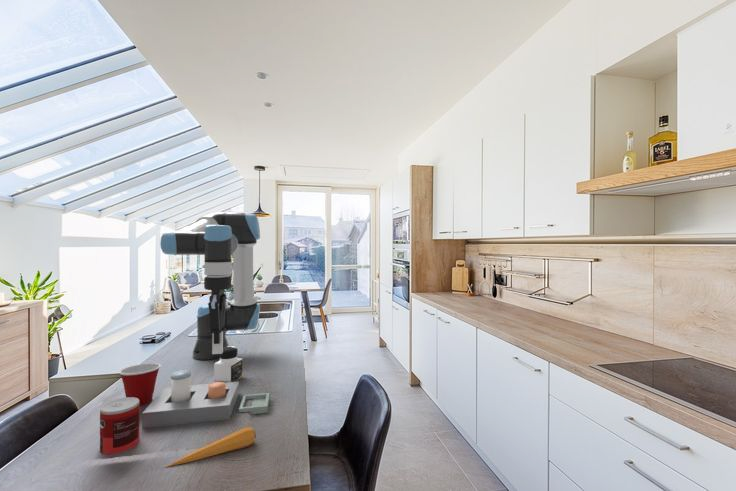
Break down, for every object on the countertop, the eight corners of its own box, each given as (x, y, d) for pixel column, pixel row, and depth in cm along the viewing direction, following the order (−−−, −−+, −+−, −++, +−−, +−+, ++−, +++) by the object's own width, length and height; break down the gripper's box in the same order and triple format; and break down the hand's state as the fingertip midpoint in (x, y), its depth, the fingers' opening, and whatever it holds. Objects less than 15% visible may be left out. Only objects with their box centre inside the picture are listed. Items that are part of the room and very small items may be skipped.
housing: (165, 403, 104) (165, 387, 104) (238, 396, 109) (238, 381, 109) (142, 431, 88) (142, 412, 88) (229, 422, 93) (229, 405, 93)
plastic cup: (163, 394, 110) (163, 358, 109) (157, 409, 100) (158, 370, 100) (123, 400, 105) (123, 363, 105) (113, 417, 95) (114, 376, 95)
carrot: (255, 442, 85) (252, 423, 87) (257, 444, 82) (254, 425, 83) (165, 476, 75) (163, 455, 77) (163, 481, 72) (161, 458, 73)
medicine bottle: (231, 384, 118) (231, 351, 118) (213, 382, 119) (213, 349, 119) (242, 376, 125) (242, 345, 125) (225, 375, 126) (226, 344, 126)
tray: (243, 401, 106) (243, 395, 106) (269, 398, 107) (269, 392, 107) (238, 415, 97) (238, 408, 97) (267, 412, 99) (267, 406, 99)
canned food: (113, 439, 84) (113, 397, 84) (146, 438, 85) (146, 396, 85) (91, 459, 77) (91, 412, 77) (127, 457, 78) (127, 411, 77)
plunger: (210, 401, 102) (210, 382, 102) (227, 400, 103) (227, 381, 103) (206, 409, 97) (206, 389, 97) (223, 407, 98) (223, 387, 98)
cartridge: (174, 406, 100) (174, 370, 100) (193, 405, 101) (193, 369, 101) (167, 415, 94) (168, 377, 94) (187, 413, 96) (187, 376, 96)
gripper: (210, 273, 105) (209, 347, 105) (198, 278, 92) (198, 361, 93) (235, 273, 107) (234, 345, 107) (226, 278, 94) (226, 360, 94)
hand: (217, 353), depth 100 cm, fingers closed
